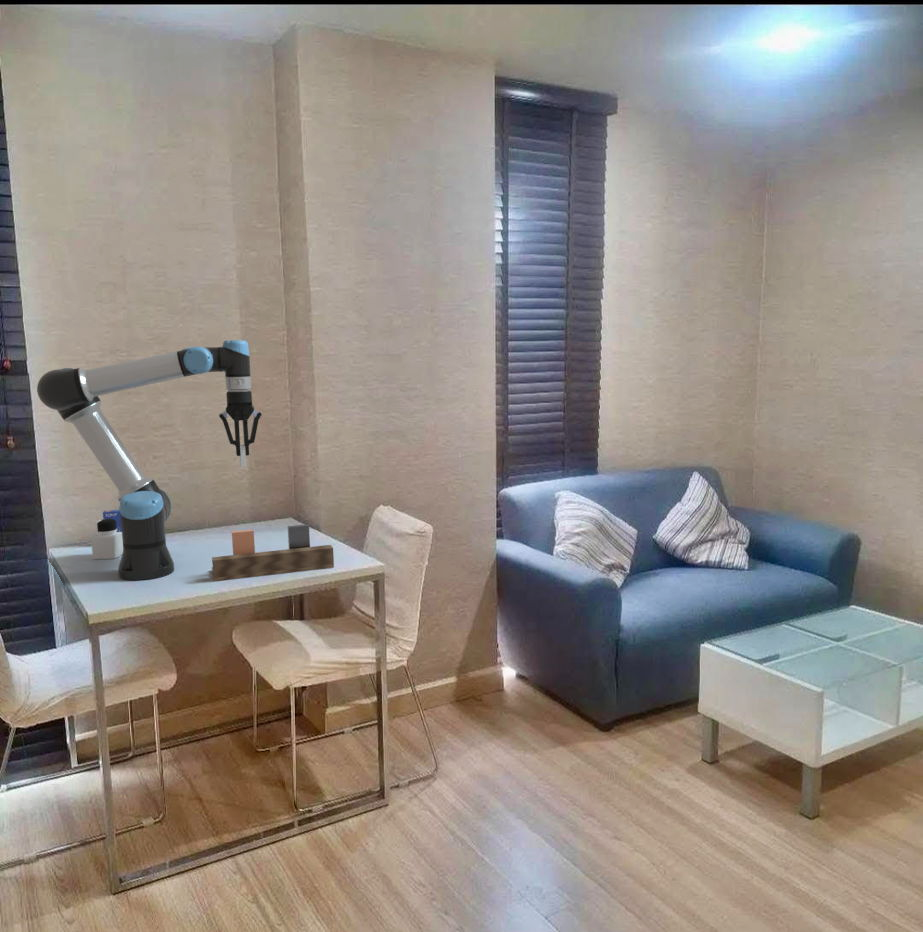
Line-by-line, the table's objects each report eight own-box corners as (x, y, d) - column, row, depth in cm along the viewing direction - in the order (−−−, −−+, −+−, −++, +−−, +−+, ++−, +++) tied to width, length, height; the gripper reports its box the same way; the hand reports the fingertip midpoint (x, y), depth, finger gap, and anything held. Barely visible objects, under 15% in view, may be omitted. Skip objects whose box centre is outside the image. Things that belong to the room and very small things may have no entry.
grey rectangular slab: (290, 563, 230) (288, 527, 228) (289, 562, 232) (287, 526, 230) (310, 561, 232) (308, 525, 231) (309, 559, 234) (307, 524, 232)
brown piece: (214, 581, 218) (212, 560, 217) (212, 570, 229) (210, 550, 228) (334, 567, 230) (333, 547, 229) (326, 557, 241) (325, 538, 240)
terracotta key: (234, 569, 225) (232, 532, 223) (234, 568, 226) (231, 531, 225) (255, 567, 227) (253, 530, 225) (255, 565, 229) (252, 529, 227)
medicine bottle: (124, 553, 251) (121, 517, 250) (115, 559, 244) (112, 521, 242) (102, 553, 251) (99, 517, 249) (92, 559, 244) (89, 522, 242)
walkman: (105, 546, 261) (102, 511, 259) (106, 544, 263) (103, 509, 262) (130, 544, 263) (127, 509, 261) (131, 542, 266) (128, 508, 264)
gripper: (217, 392, 234) (222, 469, 237) (261, 390, 238) (266, 466, 242) (216, 390, 241) (221, 465, 244) (259, 389, 245) (263, 463, 249)
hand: (243, 465), depth 243 cm, fingers closed
